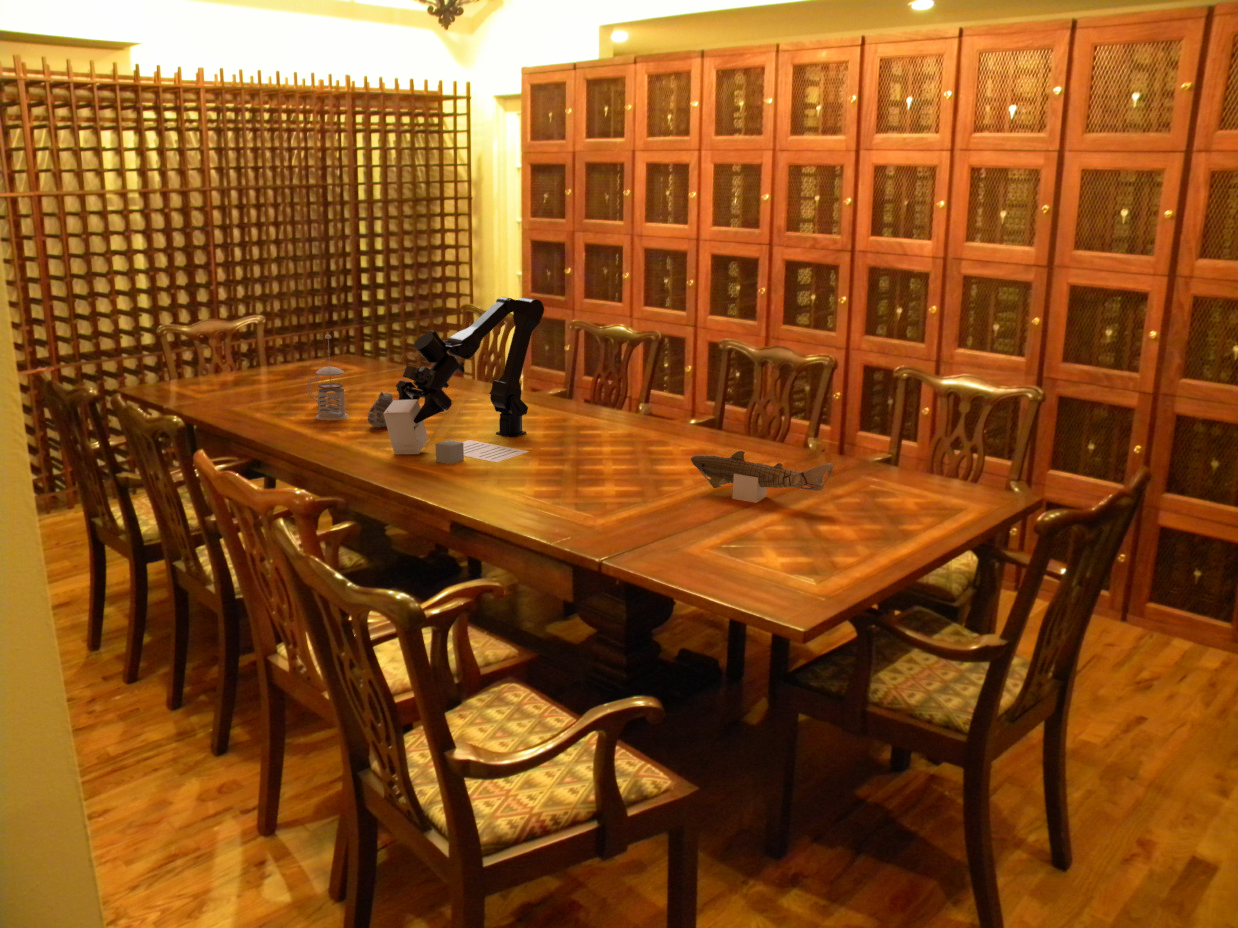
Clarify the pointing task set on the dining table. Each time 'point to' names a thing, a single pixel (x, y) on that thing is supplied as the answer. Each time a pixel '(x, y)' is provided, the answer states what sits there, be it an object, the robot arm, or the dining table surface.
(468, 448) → the letter
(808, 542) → the dining table surface
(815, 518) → the dining table surface
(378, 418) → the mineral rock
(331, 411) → the french press
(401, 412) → the supplement box
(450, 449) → the cube
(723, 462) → the wood carving
